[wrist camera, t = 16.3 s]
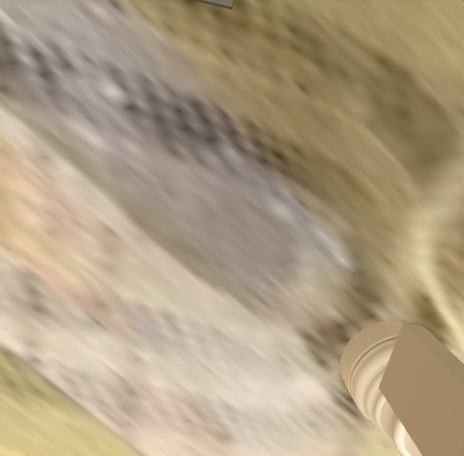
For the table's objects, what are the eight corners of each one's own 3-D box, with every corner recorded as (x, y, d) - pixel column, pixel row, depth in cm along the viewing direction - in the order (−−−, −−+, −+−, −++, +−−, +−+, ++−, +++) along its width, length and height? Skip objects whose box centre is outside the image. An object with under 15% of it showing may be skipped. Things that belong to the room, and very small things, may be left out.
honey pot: (427, 311, 46) (557, 424, 29) (427, 385, 51) (542, 522, 33) (335, 331, 46) (412, 457, 29) (343, 403, 50) (415, 551, 33)
